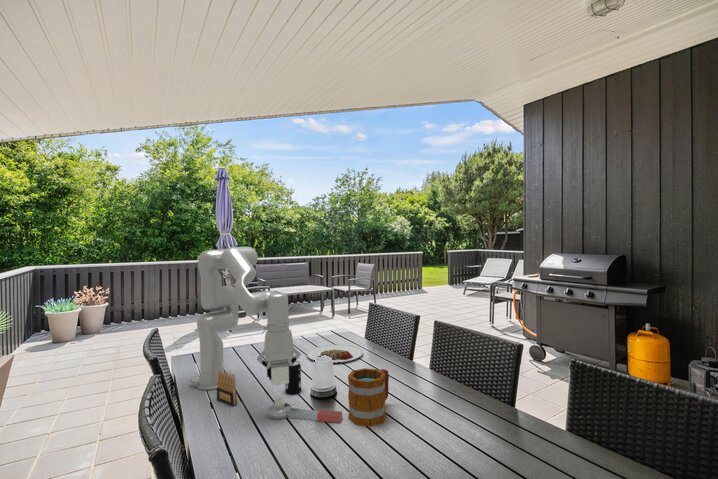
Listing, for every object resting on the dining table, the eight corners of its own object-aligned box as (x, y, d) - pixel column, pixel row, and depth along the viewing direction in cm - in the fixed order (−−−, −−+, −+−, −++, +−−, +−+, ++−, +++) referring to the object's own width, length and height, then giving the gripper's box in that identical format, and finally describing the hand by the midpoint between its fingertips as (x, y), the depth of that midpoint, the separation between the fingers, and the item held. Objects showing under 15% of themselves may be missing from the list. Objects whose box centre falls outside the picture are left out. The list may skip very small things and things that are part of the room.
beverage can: (297, 395, 153) (297, 365, 153) (282, 394, 155) (282, 365, 154) (303, 389, 160) (303, 360, 160) (288, 388, 161) (288, 359, 161)
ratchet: (264, 418, 134) (264, 401, 134) (274, 408, 142) (274, 392, 142) (337, 426, 128) (337, 408, 128) (344, 415, 135) (343, 398, 135)
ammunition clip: (237, 405, 145) (236, 373, 145) (233, 406, 144) (232, 375, 144) (220, 398, 152) (220, 368, 152) (216, 400, 150) (216, 369, 150)
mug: (371, 430, 124) (370, 385, 124) (340, 419, 133) (339, 376, 133) (403, 408, 140) (402, 368, 140) (373, 399, 148) (372, 361, 148)
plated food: (315, 347, 221) (315, 341, 221) (366, 348, 217) (366, 342, 217) (300, 364, 191) (299, 357, 191) (358, 366, 187) (358, 359, 187)
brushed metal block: (271, 385, 133) (271, 365, 133) (270, 379, 139) (270, 360, 139) (289, 383, 134) (288, 363, 134) (287, 377, 140) (286, 358, 140)
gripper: (253, 332, 131) (255, 384, 131) (303, 327, 135) (305, 377, 135) (253, 327, 138) (254, 377, 138) (300, 323, 143) (302, 371, 143)
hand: (279, 376), depth 137 cm, fingers closed on brushed metal block, 6 cm apart
